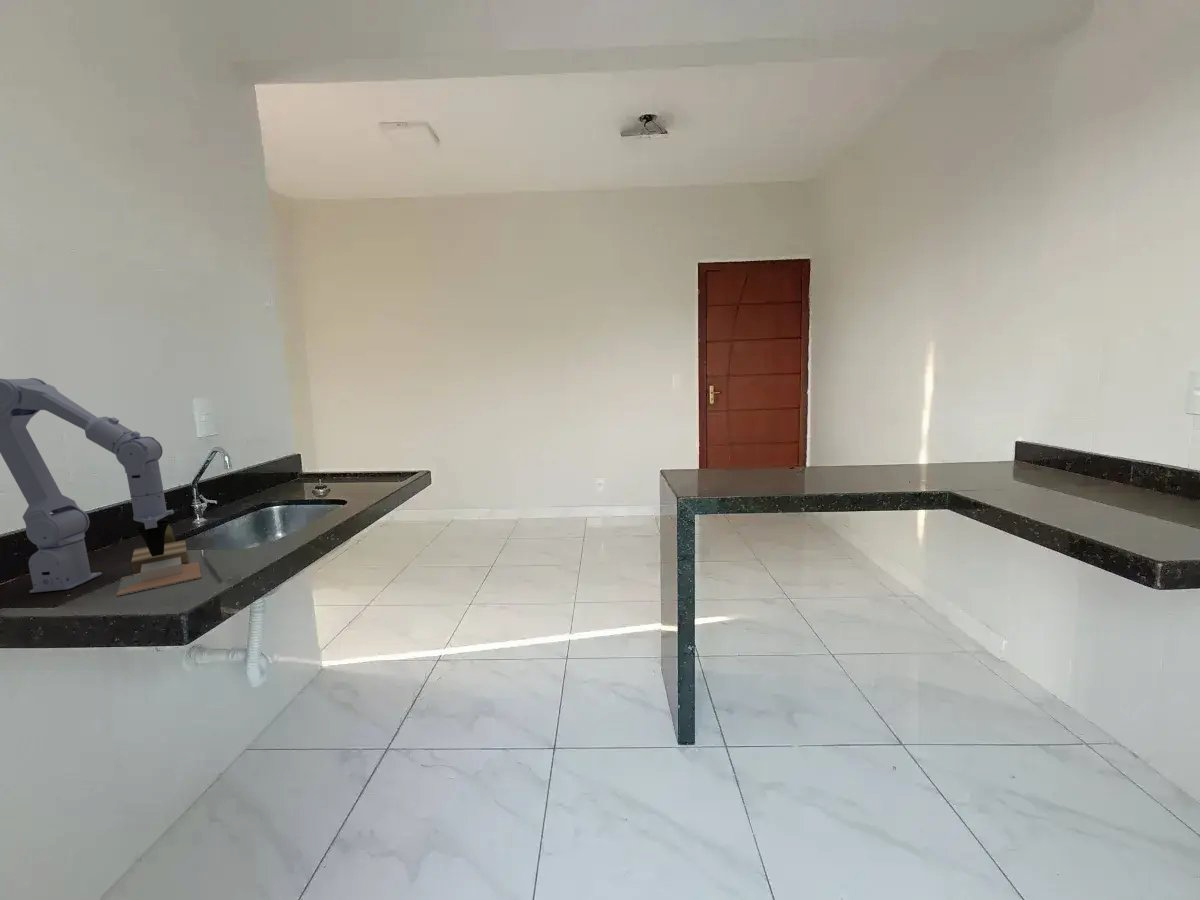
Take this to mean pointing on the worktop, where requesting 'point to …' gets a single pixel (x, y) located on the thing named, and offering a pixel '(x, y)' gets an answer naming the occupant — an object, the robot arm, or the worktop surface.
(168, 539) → the olive green rounded cylinder
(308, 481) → the worktop surface
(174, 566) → the coaster
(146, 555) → the wooden bridge block
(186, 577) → the mat
